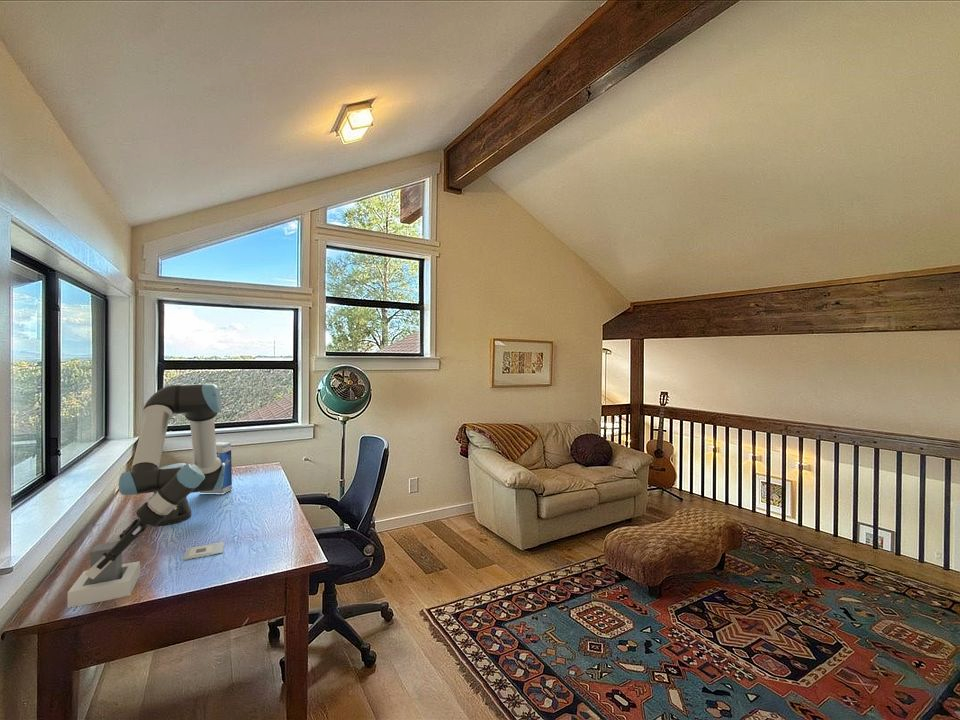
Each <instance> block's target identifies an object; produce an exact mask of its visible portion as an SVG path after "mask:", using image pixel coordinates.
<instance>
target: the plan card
mask: <svg viewBox="0 0 960 720" xmlns="http://www.w3.org/2000/svg"><path fill="white" fill-rule="evenodd" d="M223 547H225V541H219V542H214V543H209V544H204V545H203V544H202V545H197V546H191V547H186V549H185V551H184V554H183V557H182V561H183V560H185V561H189V560H188V559H190V560H193V559H192V558H195V559H198V558H197V557H201V558H203V557H202V556H206V557H209V556H208V555H212V556H214V555H213V554H217V555H219V554H218V553H224V548H223Z"/></svg>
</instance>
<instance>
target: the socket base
mask: <svg viewBox="0 0 960 720" xmlns="http://www.w3.org/2000/svg"><path fill="white" fill-rule="evenodd" d="M88 570H89V569H87V570H83V572H81V574H80V576H79V577H78V578H77V579H76V581H74V583H73V585H72V586H71V587H70V588H69V590H68V592H67V609H71V607H72V608H76V607H75V606H77V607H80V606H81V605H82V606H85V605H86V604H87V605H91V604H96V603H100V602H105V601H110V600H116V599H120V598H124V597H125V598H126V597H130V596H131V594H132V592H133V590H134V589H135V586H136V584H137V582H138V581H139V578H140V576H141V561H140V560H139V561H132V562H127V563H122V578H121V579H118V580H112V581H107V582H102V583H97V584H91V578H90V577H88V576H86V575H84V574H85V573H86V572H87V571H88Z"/></svg>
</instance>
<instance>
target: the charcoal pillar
mask: <svg viewBox="0 0 960 720" xmlns="http://www.w3.org/2000/svg"><path fill="white" fill-rule="evenodd" d="M118 542H119V541H115V542H113V541H108V542H102V543H97V544H96V545H94V547H93V548H92V549H91V551H90V552H89V553H90V554H89V555H90V556H89V560H90V562H89V563H90V568H91V567H92V566H93V565H94V564H96V563H97V562H98V561H99V560H100V559H101V558H102V557H103V556H104V555H103V553H108V552H109V551H110V550H111V549H112V548H113V547H114V546H115V545H116V544H117V543H118ZM122 554H123V551H122V552H121V554H120V555H119V556H118V557H117V558H116V559H115V560H114V561H112V562H111V563H110V564H109V565H108V566H107V567H106V568H104V569H103V570H102V571H101V572H100V573H99V574H98V575H97V576H96V577H95V578H94V579H91V584H97V583H102V582H107V581H112V580H118V579H121V578H122V564H123V563H122V561H123V559H122V558H123V557H122V556H123V555H122ZM112 555H113V554H112ZM114 556H115V555H114ZM90 568H89V569H90Z"/></svg>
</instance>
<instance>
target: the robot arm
mask: <svg viewBox="0 0 960 720" xmlns="http://www.w3.org/2000/svg"><path fill="white" fill-rule="evenodd" d="M222 404H223V403H222V396H221V391H220V389H219V387H218V386H217V385H216V384H215V383H213V384H212V383H202V384H201V383H200V384H197V383H196V384H171V385H167V386H164V387H163V388H162V387H161V389H159V390H157V391H156V392H154V393H153V394H152V395H151V396H150V397H149V399H148V400H147V401H146V402H145V404H144V406H143V409H142V413H141V416H142V417H143V418H142V419H143V421H142V422H143V423H142V427H141V430H140V434H139V438H138V441H137V445H136V450H135V453H134V457H133V460H132V464H131V467H130V468H131V469H130V470H128V471H124V472H122V473H121V474H120V476H119V478H118V491H119V493H120V495H122V496H132V495H136V496H137V495H144V494H149V493H153V494H152V495H151V496H150V497H149V498H148V499H147V501H146V502H145V503H143V504H142V505H141V506H140V507H139V508H138V509H137V510H136V516H137V517H138V518H136V519H134V520H133V521H132V522H131V523H130V524H129V526H127V528H125V529H123V530H122V533H120V534H119V536H117V537H116V538H115V539H114V540H113V541H112V542H115V541H119V542H118V543H117V544H116V545H115V546H114V547H113V548H112V549H111V550H110V551H109V552H108V553H103V555H104V556H103V557H102V558H101V559H100V560H99V561H98V562H97V563H96V564H94V565H93V566H92V567H91V568H89V569H87V570H88V571H87V570H86V571H87V572H86V573H85V574H84V575H86V576H88V577H90V578H91V579H94V578H95V577H96V576H97V575H98V574H99V573H100V572H101V571H102V570H103V569H104V568H106V567H107V566H108V565H109V564H110V563H111V562H112V561H114V560H115V559H116V558H117V557H118V556H119V555H120V554H121V552H122V553H123V551H125V550H126V548H127V547H129V545H130V544H131V543H132V542H133V541H134V540H136V538H138V537H139V535H141V534H142V533H143V532H144V531H145V530H146V529H147V527H148V525H149V526H152V527H155V526H166V525H167V526H168V525H172V524H177V523H181V522H183V521H187V520H188V519H190V518H191V517H192V509H191V507H190V504H189V502H188V499H187V497H188V496H189V495H190V494H193V493H200V492H204V491H213V490H218V489H220V488H222V486H223V480H224V472H225V463H221V460H220V459H219V458H218V457H217V452H216V442H217V441H216V440H217V439H216V430H215V429H216V428H215V418H216V417H217V416H218V414H219V412H221V411H222ZM180 414H181V415H183V414H184V417H185V419H186V420H187V421H188V422H189V425H190V435H191V445H192V453H193V461H192V462H191V463H188V464H186V463H185V462H177V463H171V464H169V465H164V466H162V467H160V464H161V460H162V454H163V450H164V444H165V440H166V436H167V430H168V425H169V422H170V420H172V418H173V416H174V415H180ZM112 554H113V555H112ZM114 555H115V556H114Z"/></svg>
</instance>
